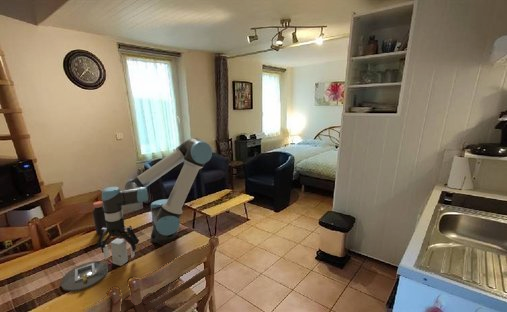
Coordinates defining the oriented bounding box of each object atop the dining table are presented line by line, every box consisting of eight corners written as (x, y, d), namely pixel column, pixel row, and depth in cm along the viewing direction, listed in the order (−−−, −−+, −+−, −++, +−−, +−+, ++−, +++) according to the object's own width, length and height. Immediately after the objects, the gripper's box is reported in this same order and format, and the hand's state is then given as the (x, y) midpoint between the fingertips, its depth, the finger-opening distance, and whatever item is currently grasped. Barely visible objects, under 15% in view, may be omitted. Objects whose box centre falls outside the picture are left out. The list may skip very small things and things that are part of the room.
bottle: (100, 236, 144) (95, 206, 140) (93, 233, 147) (88, 203, 142) (111, 230, 150) (106, 201, 146) (104, 228, 153) (100, 199, 148)
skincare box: (112, 263, 120) (109, 242, 117) (119, 258, 124) (116, 237, 121) (122, 266, 118) (118, 244, 115) (129, 260, 122) (126, 239, 119)
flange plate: (106, 259, 123) (104, 249, 122) (109, 279, 109) (108, 269, 108) (62, 273, 113) (60, 263, 112) (60, 298, 99) (57, 287, 97)
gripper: (143, 213, 120) (147, 251, 125) (92, 215, 118) (98, 253, 123) (137, 220, 113) (142, 260, 118) (83, 223, 110) (90, 263, 115)
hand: (120, 257), depth 120 cm, fingers open, 12 cm apart
